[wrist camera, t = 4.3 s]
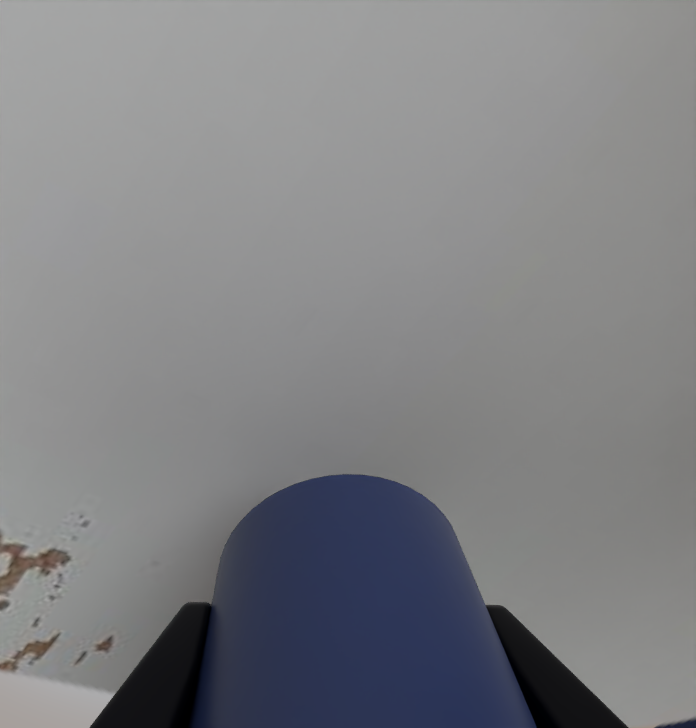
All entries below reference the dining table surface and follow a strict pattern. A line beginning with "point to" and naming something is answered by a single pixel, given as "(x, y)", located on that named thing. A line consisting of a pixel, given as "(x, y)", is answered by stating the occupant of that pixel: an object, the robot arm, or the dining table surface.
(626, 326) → the dining table surface
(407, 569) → the tin
